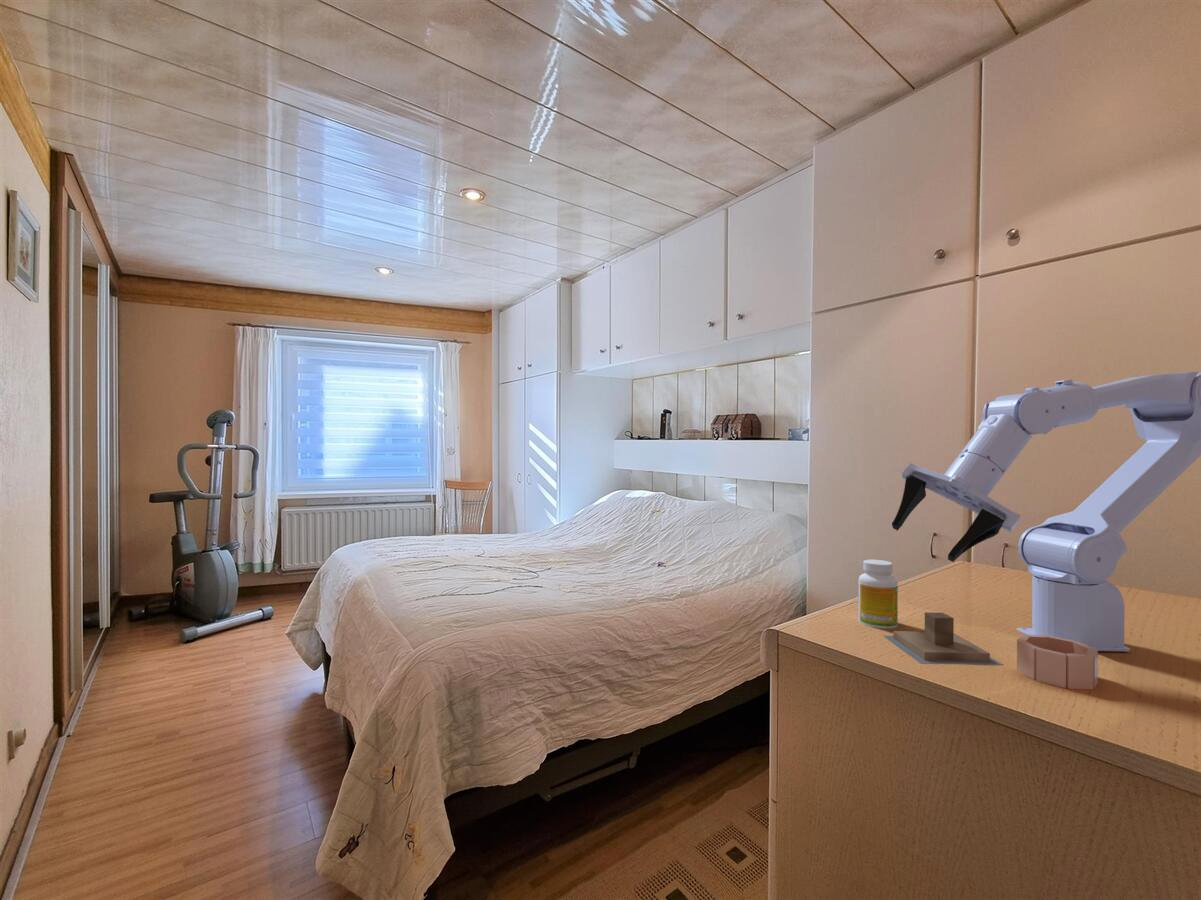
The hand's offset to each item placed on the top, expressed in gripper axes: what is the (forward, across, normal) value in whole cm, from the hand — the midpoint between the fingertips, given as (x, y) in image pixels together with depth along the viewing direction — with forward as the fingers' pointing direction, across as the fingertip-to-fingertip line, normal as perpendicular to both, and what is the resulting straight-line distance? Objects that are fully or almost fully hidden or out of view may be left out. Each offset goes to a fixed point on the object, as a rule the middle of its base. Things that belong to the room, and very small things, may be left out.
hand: (921, 542), depth 75 cm
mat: (+10, +8, +5) cm, 14 cm away
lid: (+10, +8, +5) cm, 14 cm away
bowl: (+6, +19, +3) cm, 20 cm away
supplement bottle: (+12, 0, +13) cm, 17 cm away
